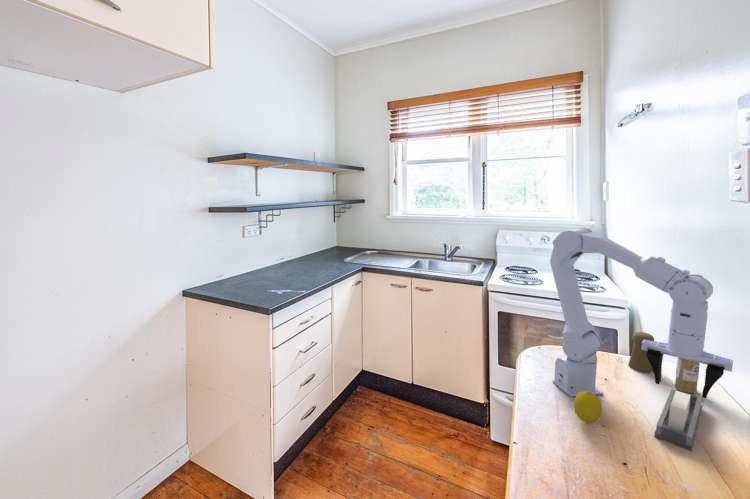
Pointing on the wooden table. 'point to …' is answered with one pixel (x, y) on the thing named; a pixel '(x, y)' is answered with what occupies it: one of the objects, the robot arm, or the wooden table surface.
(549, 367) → the wooden table surface
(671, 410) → the door panel
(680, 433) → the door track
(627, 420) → the wooden table surface
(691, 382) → the sprinkles bottle
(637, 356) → the cork
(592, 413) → the lemon
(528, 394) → the wooden table surface
